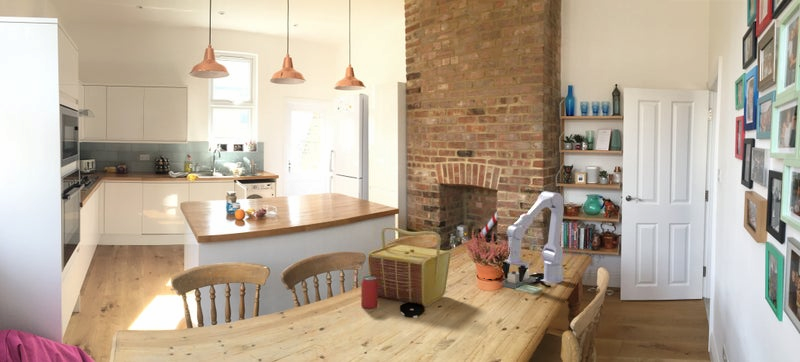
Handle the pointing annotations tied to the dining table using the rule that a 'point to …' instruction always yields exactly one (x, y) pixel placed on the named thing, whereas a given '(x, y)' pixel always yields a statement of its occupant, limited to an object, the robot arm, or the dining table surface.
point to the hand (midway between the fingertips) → (513, 279)
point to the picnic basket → (410, 270)
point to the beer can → (369, 292)
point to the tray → (528, 289)
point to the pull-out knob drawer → (526, 274)
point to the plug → (513, 277)
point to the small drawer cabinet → (514, 286)
